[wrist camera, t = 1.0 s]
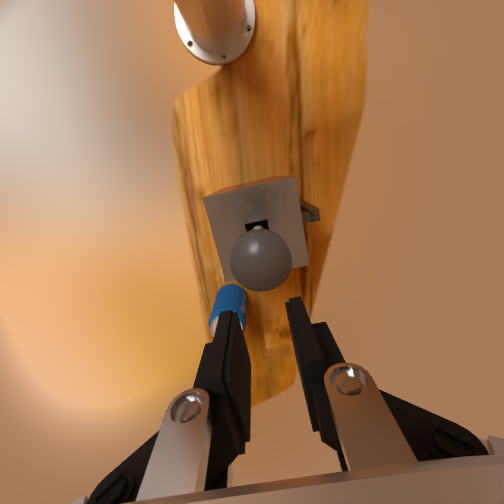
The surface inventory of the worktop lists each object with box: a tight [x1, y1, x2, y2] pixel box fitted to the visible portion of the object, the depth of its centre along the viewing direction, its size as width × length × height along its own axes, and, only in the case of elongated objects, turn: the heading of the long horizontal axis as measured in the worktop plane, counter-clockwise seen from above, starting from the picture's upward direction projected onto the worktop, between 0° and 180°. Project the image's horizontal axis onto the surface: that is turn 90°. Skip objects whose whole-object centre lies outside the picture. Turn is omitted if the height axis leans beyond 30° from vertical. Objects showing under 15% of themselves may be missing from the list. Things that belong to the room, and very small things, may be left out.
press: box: [203, 176, 320, 282], centre depth 39 cm, size 11×14×19 cm
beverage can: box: [209, 284, 247, 337], centre depth 48 cm, size 6×6×12 cm
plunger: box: [230, 219, 292, 291], centre depth 29 cm, size 9×9×19 cm
